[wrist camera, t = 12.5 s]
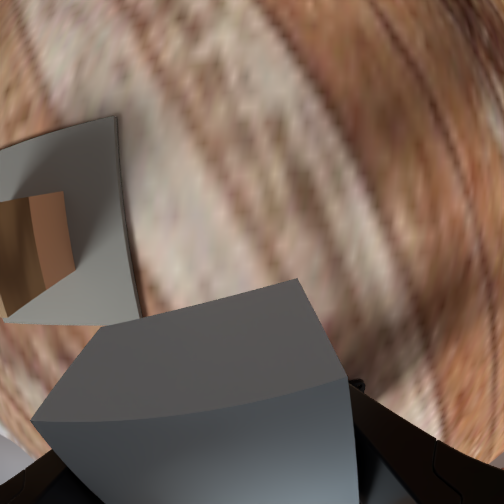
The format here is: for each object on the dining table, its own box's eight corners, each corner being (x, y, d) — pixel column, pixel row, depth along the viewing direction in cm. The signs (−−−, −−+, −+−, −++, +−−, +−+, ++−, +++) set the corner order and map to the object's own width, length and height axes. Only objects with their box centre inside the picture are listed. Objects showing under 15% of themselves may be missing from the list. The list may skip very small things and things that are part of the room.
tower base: (117, 117, 17) (85, 104, 13) (143, 321, 21) (122, 355, 16) (-21, 161, 17) (-58, 163, 13) (7, 319, 21) (-22, 342, 16)
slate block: (297, 278, 8) (347, 376, 4) (328, 425, 9) (359, 522, 5) (100, 327, 8) (30, 420, 4) (174, 454, 9) (158, 545, 5)
